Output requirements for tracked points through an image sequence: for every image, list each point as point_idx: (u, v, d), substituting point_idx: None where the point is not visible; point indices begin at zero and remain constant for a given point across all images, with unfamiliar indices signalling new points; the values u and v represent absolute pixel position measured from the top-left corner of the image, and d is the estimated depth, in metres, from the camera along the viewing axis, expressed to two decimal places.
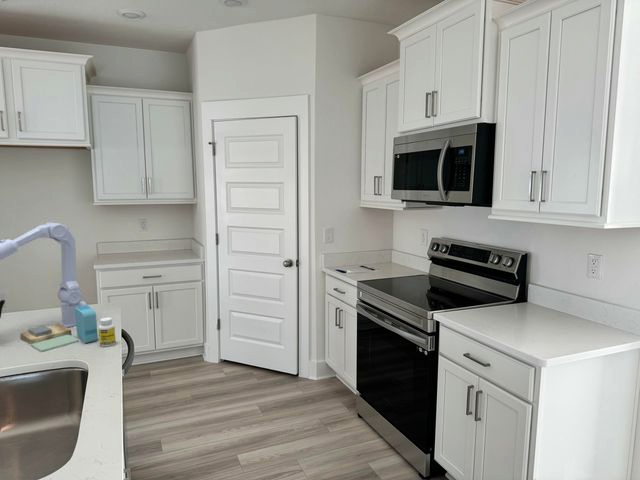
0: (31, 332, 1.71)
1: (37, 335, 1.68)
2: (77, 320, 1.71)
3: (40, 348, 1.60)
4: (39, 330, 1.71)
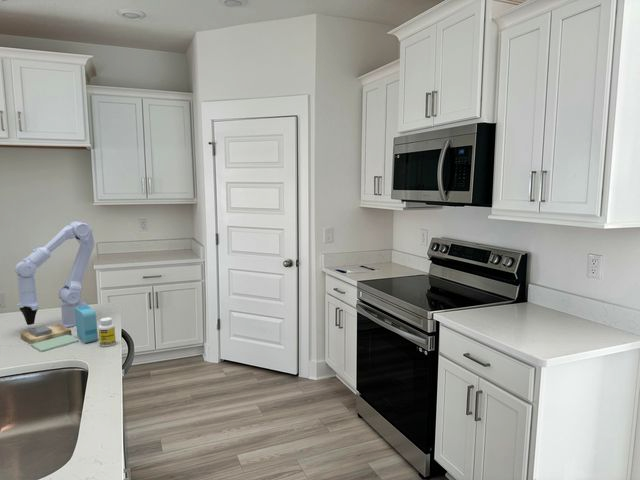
0: (31, 332, 1.71)
1: (37, 335, 1.68)
2: (77, 320, 1.71)
3: (40, 348, 1.60)
4: (39, 330, 1.71)
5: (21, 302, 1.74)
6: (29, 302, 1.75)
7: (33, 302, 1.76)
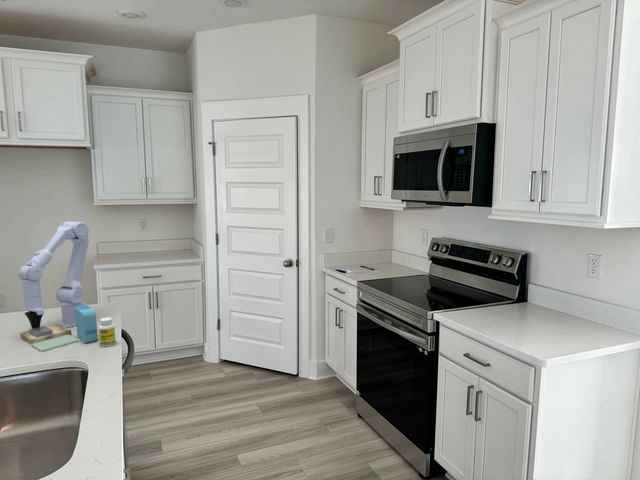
0: (32, 332, 1.70)
1: (38, 335, 1.68)
2: (77, 320, 1.71)
3: (40, 348, 1.60)
4: (40, 331, 1.70)
5: (26, 307, 1.71)
6: (34, 307, 1.72)
7: (38, 307, 1.73)
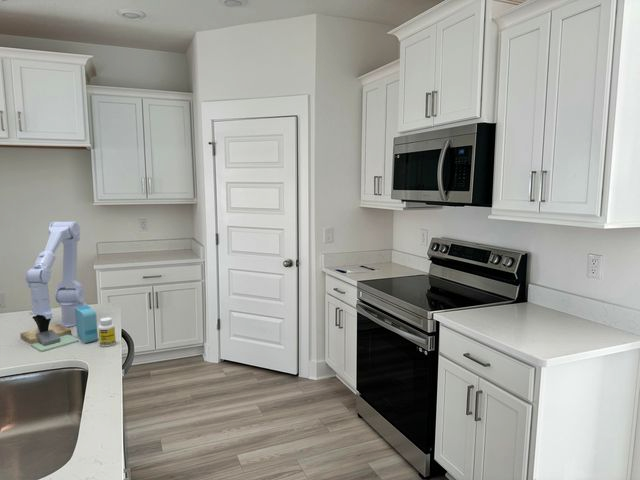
0: (39, 338, 1.65)
1: (45, 344, 1.63)
2: (77, 320, 1.71)
3: (40, 348, 1.60)
4: (48, 338, 1.65)
5: (34, 310, 1.66)
6: (42, 310, 1.67)
7: (47, 310, 1.68)
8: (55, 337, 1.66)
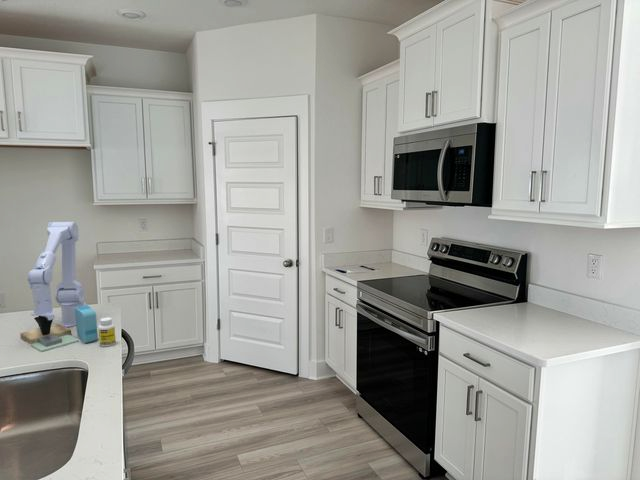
0: (41, 341, 1.65)
1: (47, 345, 1.62)
2: (77, 320, 1.71)
3: (40, 348, 1.60)
4: (49, 340, 1.64)
5: (36, 311, 1.65)
6: (44, 311, 1.65)
7: (49, 311, 1.67)
8: (56, 338, 1.66)
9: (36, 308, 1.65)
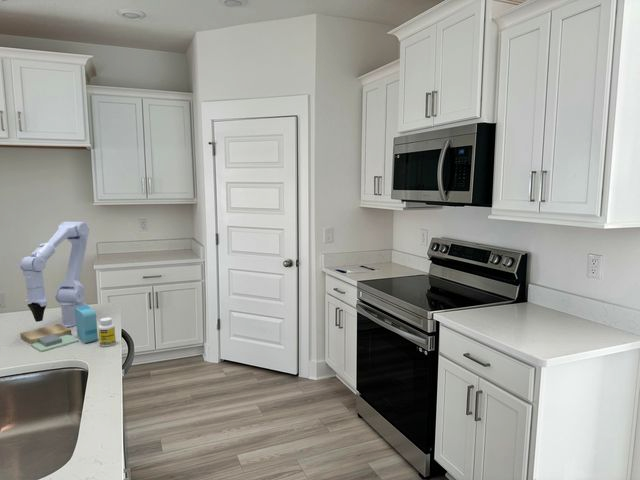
0: (41, 341, 1.65)
1: (47, 345, 1.62)
2: (77, 320, 1.71)
3: (40, 348, 1.60)
4: (49, 340, 1.64)
5: (29, 298, 1.68)
6: (37, 298, 1.69)
7: (41, 298, 1.70)
8: (56, 338, 1.66)
9: (29, 295, 1.68)
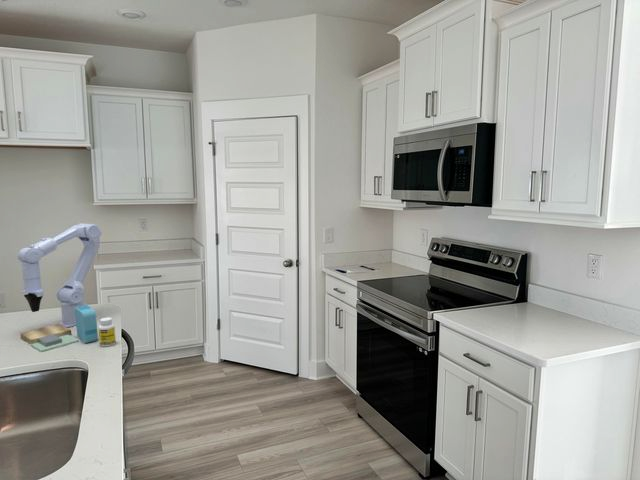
0: (41, 341, 1.65)
1: (47, 345, 1.62)
2: (77, 320, 1.71)
3: (40, 348, 1.60)
4: (49, 340, 1.64)
5: (26, 289, 1.72)
6: (34, 289, 1.73)
7: (38, 289, 1.74)
8: (56, 338, 1.66)
9: (26, 285, 1.72)
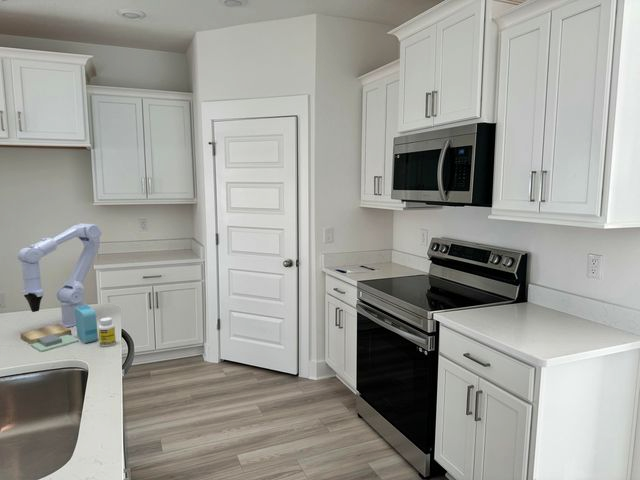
0: (41, 341, 1.65)
1: (47, 345, 1.62)
2: (77, 320, 1.71)
3: (40, 348, 1.60)
4: (49, 340, 1.64)
5: (26, 289, 1.72)
6: (34, 289, 1.73)
7: (38, 289, 1.74)
8: (56, 338, 1.66)
9: (26, 285, 1.72)
